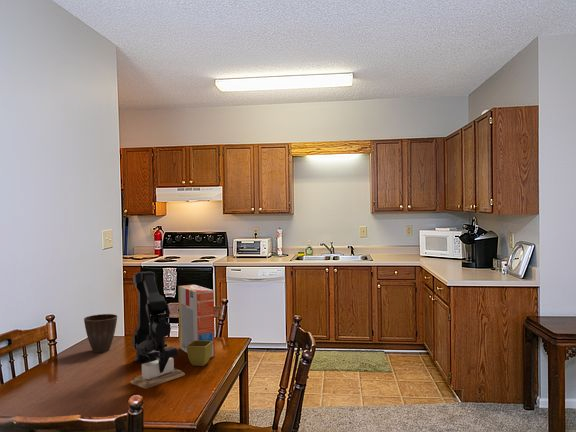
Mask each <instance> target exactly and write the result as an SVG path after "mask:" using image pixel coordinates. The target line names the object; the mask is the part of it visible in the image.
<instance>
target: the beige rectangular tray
mask: <svg viewBox="0 0 576 432" xmlns="http://www.w3.org/2000/svg"><path fill="white" fill-rule="evenodd" d="M185 375H186V374H185V372H183V371H182V370H181V369H177V368H174V371H171V372H169V373H166V374H163V375H160V376H157V377H153V378H151V379H145V378H142V374H140V375H137V376H134V377H133V379H132V380H131V379H130V381H129V382H130V384H131V385H134V386H137V387H140V388H142V389H151V388H152V387H155V386H158V385H161V384H164V383H166V382H169V381H172V380H175V379H177V378H180V377H183V376H185Z"/></svg>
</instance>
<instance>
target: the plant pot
mask: <svg viewBox="0 0 576 432" xmlns="http://www.w3.org/2000/svg"><path fill="white" fill-rule="evenodd" d="M83 322H84V328H85V332H86V335H87V341H88V342H89V346H90V347H91V350H92V352H93V353H105V352H108V351H109V350H110V349H111V346H112V344H113V339H114V337H115V331H116V328H117V323H118V314H113V313H102V314H93V315H90V316H86V317H84V318H83Z"/></svg>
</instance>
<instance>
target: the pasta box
mask: <svg viewBox="0 0 576 432" xmlns="http://www.w3.org/2000/svg"><path fill="white" fill-rule="evenodd" d="M177 288H178V290H177V291H178V323H179V324H178V329H179V334H178V335H179V349H180V350H181V351H184V352H185V353H186V354H188V353H187V345H189V344H190V343H192V342H193V341H195V340H198V341H213V344H212V353H211V356H210V359H211V358H215V357H216V348H215V347H216V344H215V343H216V340H215V335H216V333H215V291H214V289H210V288H207V287H205V286H204V287H203V286H200V285H197V284H187V285H178V286H177Z"/></svg>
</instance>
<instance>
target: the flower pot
mask: <svg viewBox="0 0 576 432" xmlns="http://www.w3.org/2000/svg"><path fill="white" fill-rule="evenodd" d="M212 344H213V341H198V340H195V341H193V342H192V343H190V344H189V345H187V353H186V354H187V357H188V361H189V362H190V364H191V366H199V367H204V366H205V365H206V364H208V362H210V359H211V358H210V356H211V353H212Z"/></svg>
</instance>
